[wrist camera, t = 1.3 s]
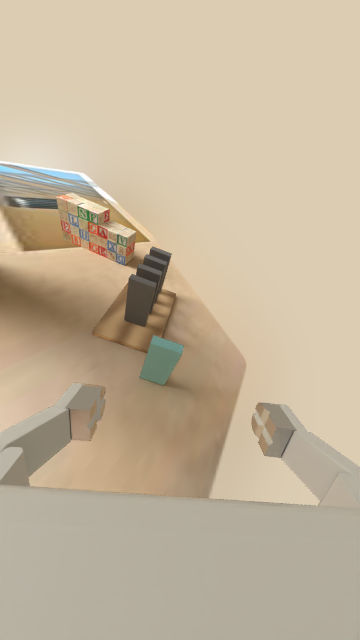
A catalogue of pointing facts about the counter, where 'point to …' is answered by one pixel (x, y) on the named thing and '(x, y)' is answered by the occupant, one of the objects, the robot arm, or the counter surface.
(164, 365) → the domino
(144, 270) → the domino
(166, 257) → the domino
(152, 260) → the domino
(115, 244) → the stack of blocks
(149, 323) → the oak board
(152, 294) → the domino
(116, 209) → the counter surface
